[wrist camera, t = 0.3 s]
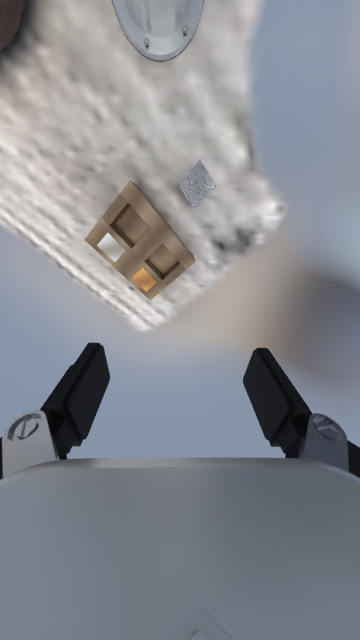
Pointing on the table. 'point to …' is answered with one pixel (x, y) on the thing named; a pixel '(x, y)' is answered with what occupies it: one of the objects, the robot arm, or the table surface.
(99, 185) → the table surface
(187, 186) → the plug
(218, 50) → the table surface
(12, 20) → the wooden bowl
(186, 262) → the socket block
